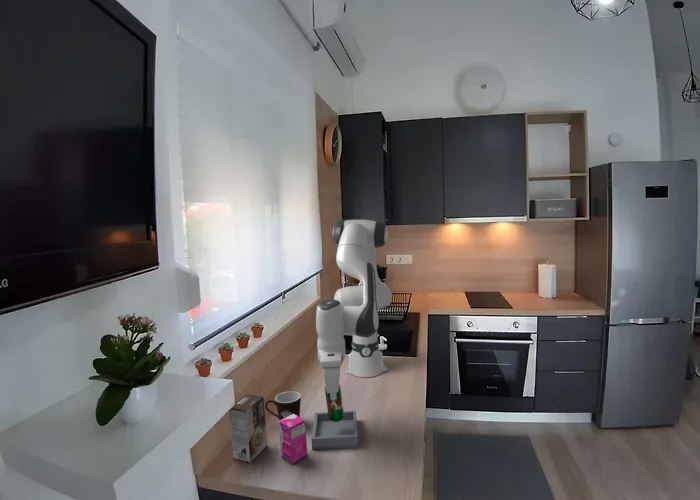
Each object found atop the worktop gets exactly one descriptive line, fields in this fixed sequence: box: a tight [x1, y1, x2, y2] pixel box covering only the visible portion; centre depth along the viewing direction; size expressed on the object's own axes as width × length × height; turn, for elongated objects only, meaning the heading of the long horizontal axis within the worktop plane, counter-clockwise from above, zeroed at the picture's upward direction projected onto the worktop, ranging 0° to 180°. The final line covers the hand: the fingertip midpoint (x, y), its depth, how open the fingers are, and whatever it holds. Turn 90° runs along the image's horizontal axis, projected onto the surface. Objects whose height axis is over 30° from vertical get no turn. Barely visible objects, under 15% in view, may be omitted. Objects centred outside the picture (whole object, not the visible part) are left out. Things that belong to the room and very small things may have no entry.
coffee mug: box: [264, 390, 302, 422], centre depth 136 cm, size 12×9×10 cm
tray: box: [311, 410, 359, 451], centre depth 129 cm, size 16×14×4 cm
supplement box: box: [278, 414, 309, 465], centre depth 117 cm, size 6×6×12 cm
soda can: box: [324, 383, 345, 422], centre depth 128 cm, size 5×5×12 cm
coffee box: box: [229, 393, 268, 463], centre depth 121 cm, size 9×6×16 cm
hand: (333, 394), depth 128 cm, fingers closed on soda can, 5 cm apart
